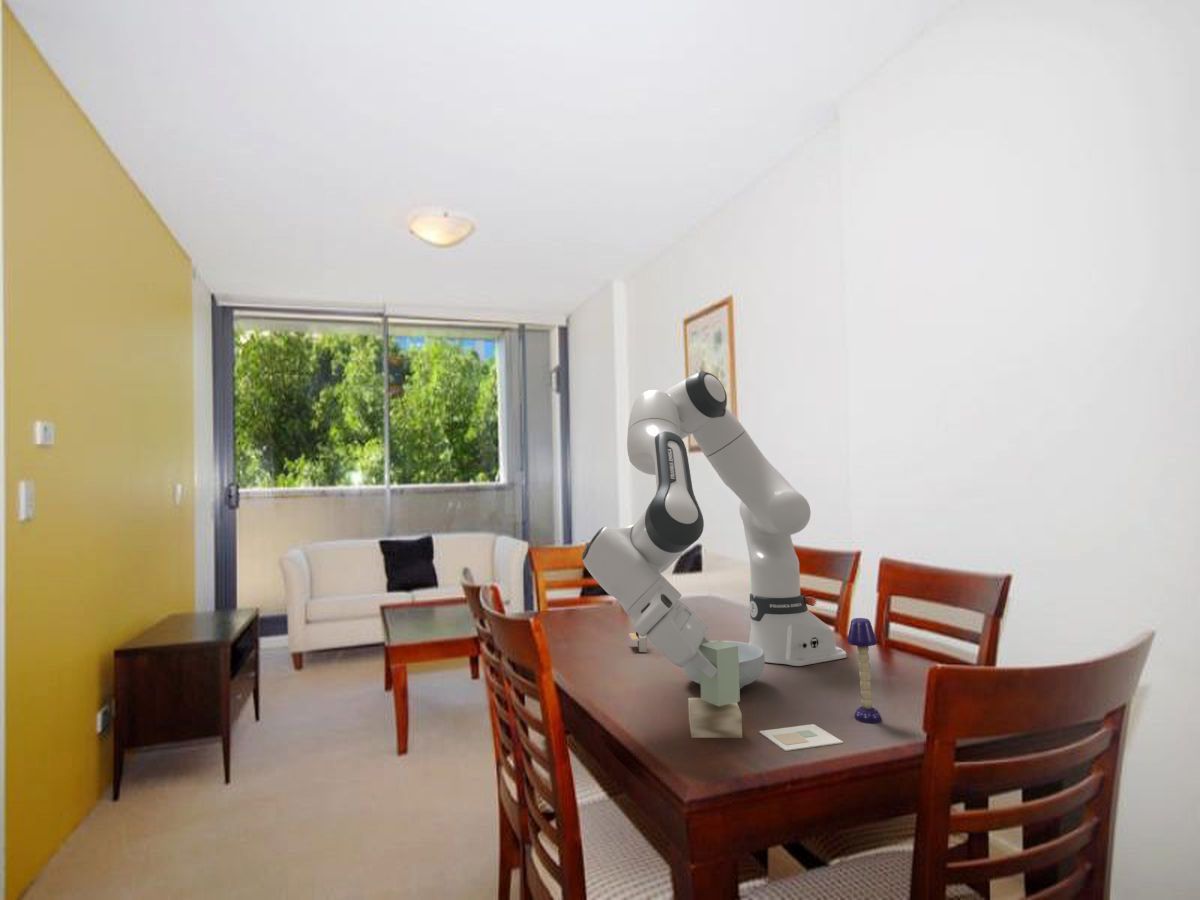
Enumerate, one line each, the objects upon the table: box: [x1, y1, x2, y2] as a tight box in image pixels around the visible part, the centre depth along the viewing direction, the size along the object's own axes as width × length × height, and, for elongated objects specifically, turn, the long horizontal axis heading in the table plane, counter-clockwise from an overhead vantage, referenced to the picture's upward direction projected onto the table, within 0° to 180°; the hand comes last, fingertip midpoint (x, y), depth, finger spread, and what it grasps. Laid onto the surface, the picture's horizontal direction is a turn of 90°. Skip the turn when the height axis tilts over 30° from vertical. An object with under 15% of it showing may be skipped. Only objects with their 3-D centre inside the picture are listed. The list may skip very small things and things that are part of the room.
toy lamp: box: [847, 617, 882, 724], centre depth 114 cm, size 5×5×17 cm
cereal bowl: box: [682, 640, 765, 690], centre depth 134 cm, size 17×17×7 cm
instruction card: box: [758, 723, 844, 752], centre depth 106 cm, size 10×8×1 cm
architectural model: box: [628, 631, 648, 653], centre depth 165 cm, size 3×7×7 cm, turn 5°
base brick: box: [687, 697, 743, 739], centre depth 111 cm, size 8×8×4 cm
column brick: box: [699, 639, 741, 706], centre depth 111 cm, size 4×4×9 cm
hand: (716, 667), depth 111 cm, fingers closed on column brick, 6 cm apart
